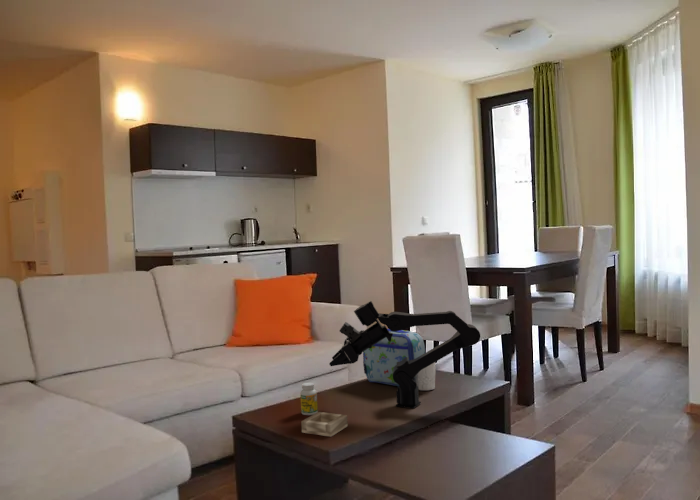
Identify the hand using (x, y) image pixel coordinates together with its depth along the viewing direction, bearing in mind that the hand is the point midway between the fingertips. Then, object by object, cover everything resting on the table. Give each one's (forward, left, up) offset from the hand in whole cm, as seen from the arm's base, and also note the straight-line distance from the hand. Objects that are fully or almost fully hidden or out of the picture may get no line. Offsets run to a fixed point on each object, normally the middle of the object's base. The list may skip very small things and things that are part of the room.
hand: (331, 361), depth 204 cm
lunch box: (-7, -35, -16) cm, 38 cm away
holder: (-9, +21, -15) cm, 27 cm away
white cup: (-21, -32, -15) cm, 41 cm away
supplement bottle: (+4, +9, -15) cm, 18 cm away
